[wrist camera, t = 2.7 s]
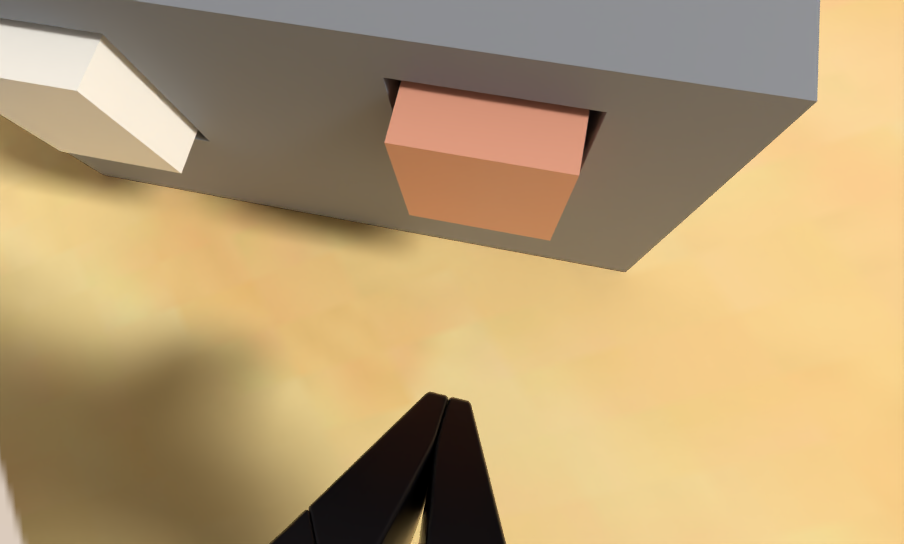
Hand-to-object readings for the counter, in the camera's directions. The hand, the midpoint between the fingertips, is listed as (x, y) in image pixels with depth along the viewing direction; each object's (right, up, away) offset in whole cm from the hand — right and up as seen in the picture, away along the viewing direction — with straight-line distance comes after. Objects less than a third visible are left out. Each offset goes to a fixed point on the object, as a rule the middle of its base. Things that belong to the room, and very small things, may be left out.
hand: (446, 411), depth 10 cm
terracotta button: (+1, +5, +4) cm, 7 cm away
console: (-3, +7, +11) cm, 14 cm away
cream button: (-10, +7, +6) cm, 13 cm away
